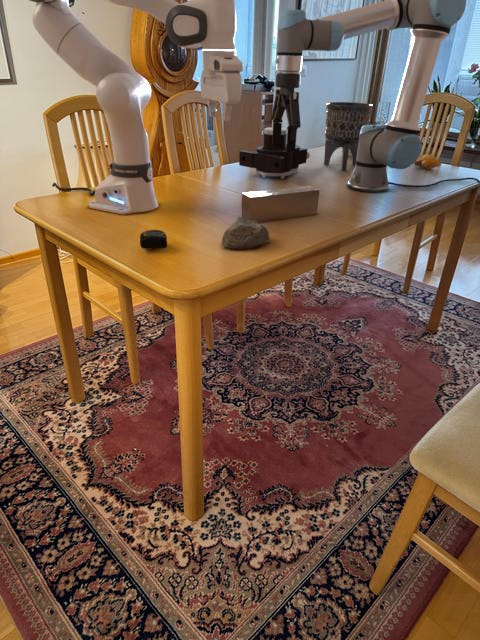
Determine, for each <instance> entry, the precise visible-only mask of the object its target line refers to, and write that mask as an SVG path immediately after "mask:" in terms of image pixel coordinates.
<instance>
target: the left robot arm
mask: <svg viewBox="0 0 480 640" xmlns="http://www.w3.org/2000/svg"><path fill="white" fill-rule="evenodd" d="M29 1H30V2H33V3H35V8H34V10H33V13H32V17H31V18H32V24H33V27H34V28H35V30H36V32H37V33H38V34H39V36H40V37H41V38H42V39H43V41H44V42H45V43H46V44H47V45H48V47H49V48H50V49H51V50H52V51H53V52H54V53H55V54H56V55H57V56H58V57H59V58H60V59H61V60H62V61H63V62H64V63H65V64H66V65H67V66H69V67H70V68H71V69H72V70H73V71H74V72H75V73H76V74H77V75H78V76H79V77H80V78H82V79H83V80H85V81H87V82H88V83H89V84H92V85H93V86H94V87H96V91H95V94H96V95H95V96H96V97H95V98H96V101H97V103H98V105H99V106H100V108H101V109H102V111H103V114H104V117H105V120H106V123H107V127H108V131H109V134H110V138H111V139H110V140H111V147H112V155H113V162H112V163H110V164H108V165H107V166H106V167H107V170H110V174H109V175H108V176H107V177H106V178H104V179H103V180H102V181H101V182H100V183H99V184H97V186H96V187H95V189H93V190H92V188H89V187H84V186H83V187H60V186H59V185H58V184H57V182H53V183H52V185H51V187H52V188H53V187H55V188H56V189H57V190H59V191H62V192H71V191H72V192H73V191H87V192H89V195H90V196H91V197H93V196H94V199H92V200H91V201H90V202H89V203H88V208H89V209H93V210H98V211H104V212H107V213H113V214H119V215H129V214H134V213H144V212H149V211H153V210H155V209H157V208H158V207H159V203H158V201H157V197H156V193H155V189H154V184H153V183H154V182H153V178H154V177H153V176H154V175H153V165H152V161H151V156H150V146H149V145H150V144H149V143H150V142H149V135H148V133H147V131H146V128H145V124H144V121H143V116H142V110H144V109H145V108H146V107H147V106H148V104H149V103H150V101H151V98H152V88H151V85H150V84H149V82H148V79H146V78H145V77H144V76H142V75H141V74H140V73H139V72H137V71H136V70H135V69H134V68H133V67H132V66H130V65H129V64H128V63H127V62H126V61H124V59H122V58H121V57H119V55H117V54H116V53H114V52H113V51H112V50H110V49H109V48H108V47H107V46H106V44H104V43H103V42H102V41H101V40H100V39H99V38H98V37H97V36H96V35H95V34H93V33H94V32H92V31H91V30H90V29H89V28H88V27H87V26H85V24H84V23H83V22H82V21H81V20H79V19H78V18H77V17H76V16H75V14H74V13H73V12H72V10H71V8H72V7H74V5H75V4H76V0H29ZM105 2H108V3H111V4H114V5H117V6H122V7H127V8H131V9H136V10H139V11H140V12H144V13H146V14H147V15H150V16H151V17H153V18H154V19H156V20H157V21H159V22H161V23H162V24H165V31H166V34H167V36H168V38H169V40H170V41H171V42H172V43H173V44H174V45H176V46H178V47H180V48H184V49H190V50H192V51H202V69H203V70H202V71H201V76H200V95H201V98H202V99H205V100H206V103H207V107H208V111H209V114H208V115H209V117H210V118H217V117H218V110H217V109H216V107H217V106H216V104H217V102H218V103H222V104H223V108H224V109H223V113H222V114H221V115H222V121H223V122H230V121H231V114H232V111H233V108H234V105H238V104H239V103H240V102H241V99H242V92H243V91H242V90H243V89H242V88H243V87H242V86H243V76H242V73H241V72H243V71H244V62H243V61H242V60H241V59H240V58H239V57H238V55H237V48H236V47H237V46H236V42H235V41H236V40H235V39H236V34H237V7H236V2H235V0H188V1H185V2H183V3H179V2H178V1H176V0H105Z"/></svg>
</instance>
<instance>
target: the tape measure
mask: <svg viewBox="0 0 480 640" xmlns="http://www.w3.org/2000/svg"><path fill="white" fill-rule="evenodd" d="M167 236H168V235H167V234H166V232H165V231H164V230H161V229H147V230H144V231H143V232H141V233H140V235H139V240H140V241H139V245H140V246H139V247H141V248H142V249H146V250H157V249H167V248H168V240H167V239H168V237H167Z"/></svg>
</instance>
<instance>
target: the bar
mask: <svg viewBox="0 0 480 640" xmlns="http://www.w3.org/2000/svg"><path fill="white" fill-rule="evenodd" d="M319 198H320V189H318V188H317V187H315V186H312V185H303V186H293V187H285V188H275V189H267V190H265V189H264V190H257V191H248V192H241V217H242V218H245V219H248V220H252V221H254V222H257V223H262V222H263V223H264V222H270V221H278V220H284V219H292V218H293V219H294V218H299V217H307V216H313V215H318V208H319V200H320V199H319Z"/></svg>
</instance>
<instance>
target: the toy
mask: <svg viewBox="0 0 480 640" xmlns="http://www.w3.org/2000/svg"><path fill="white" fill-rule="evenodd" d="M413 165H414V166H416V167H417V166H418V167H422V168H423V169H426V170H432V169H435V168H438V167H440V166H441V165H442V162H441V160H437V159H436V157H435V156H434V155H432V154H424V155H420V156H419V157H418V159H417V160H416V162H415V163H414V164H413Z"/></svg>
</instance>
